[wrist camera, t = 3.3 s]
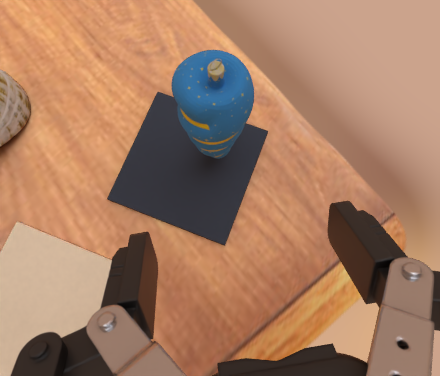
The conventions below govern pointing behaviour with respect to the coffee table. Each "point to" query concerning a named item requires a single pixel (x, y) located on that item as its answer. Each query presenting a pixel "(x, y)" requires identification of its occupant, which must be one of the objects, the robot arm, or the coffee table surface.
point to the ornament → (213, 100)
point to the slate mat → (185, 174)
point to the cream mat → (45, 289)
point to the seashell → (12, 107)
